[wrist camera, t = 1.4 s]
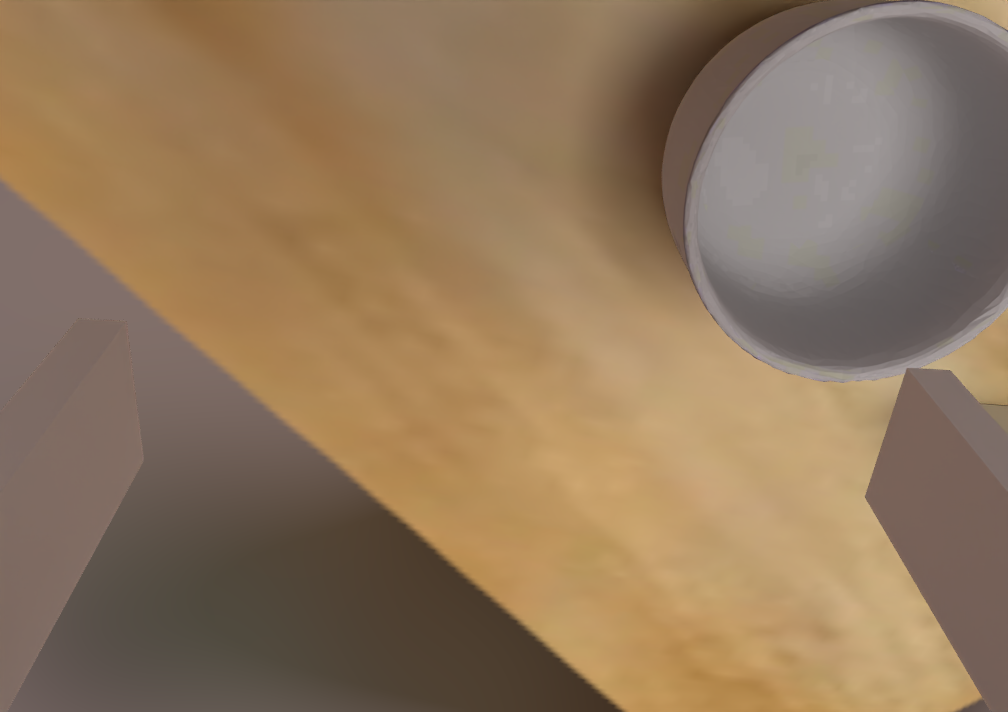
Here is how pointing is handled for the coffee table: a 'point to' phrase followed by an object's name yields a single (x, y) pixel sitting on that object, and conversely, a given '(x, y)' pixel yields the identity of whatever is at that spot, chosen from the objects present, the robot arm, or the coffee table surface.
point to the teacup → (847, 185)
